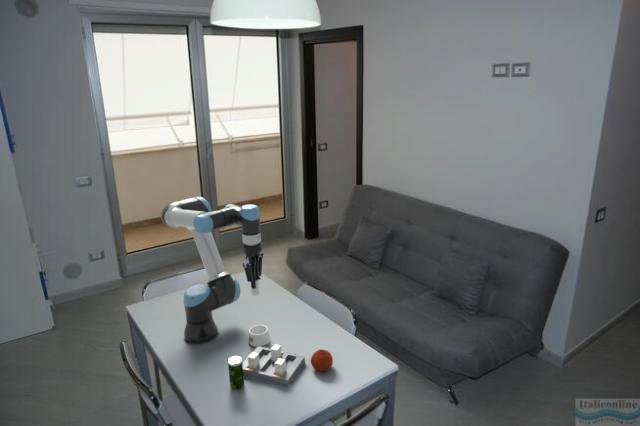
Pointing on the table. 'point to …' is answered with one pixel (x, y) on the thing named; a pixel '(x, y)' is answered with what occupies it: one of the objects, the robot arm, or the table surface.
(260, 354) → the switch board
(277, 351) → the white cuboid
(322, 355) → the fruit
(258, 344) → the mug
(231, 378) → the beer can
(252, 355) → the white rectangular block
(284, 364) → the tab
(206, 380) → the table surface
